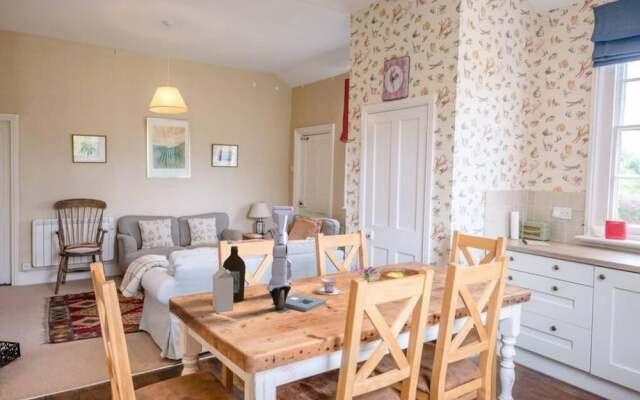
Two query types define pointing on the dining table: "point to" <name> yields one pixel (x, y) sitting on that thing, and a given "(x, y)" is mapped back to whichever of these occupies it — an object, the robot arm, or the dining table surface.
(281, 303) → the walnut peg
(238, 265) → the olive oil
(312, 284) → the dining table surface
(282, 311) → the pad
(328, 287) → the teacup
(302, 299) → the hole plate
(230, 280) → the milk carton
